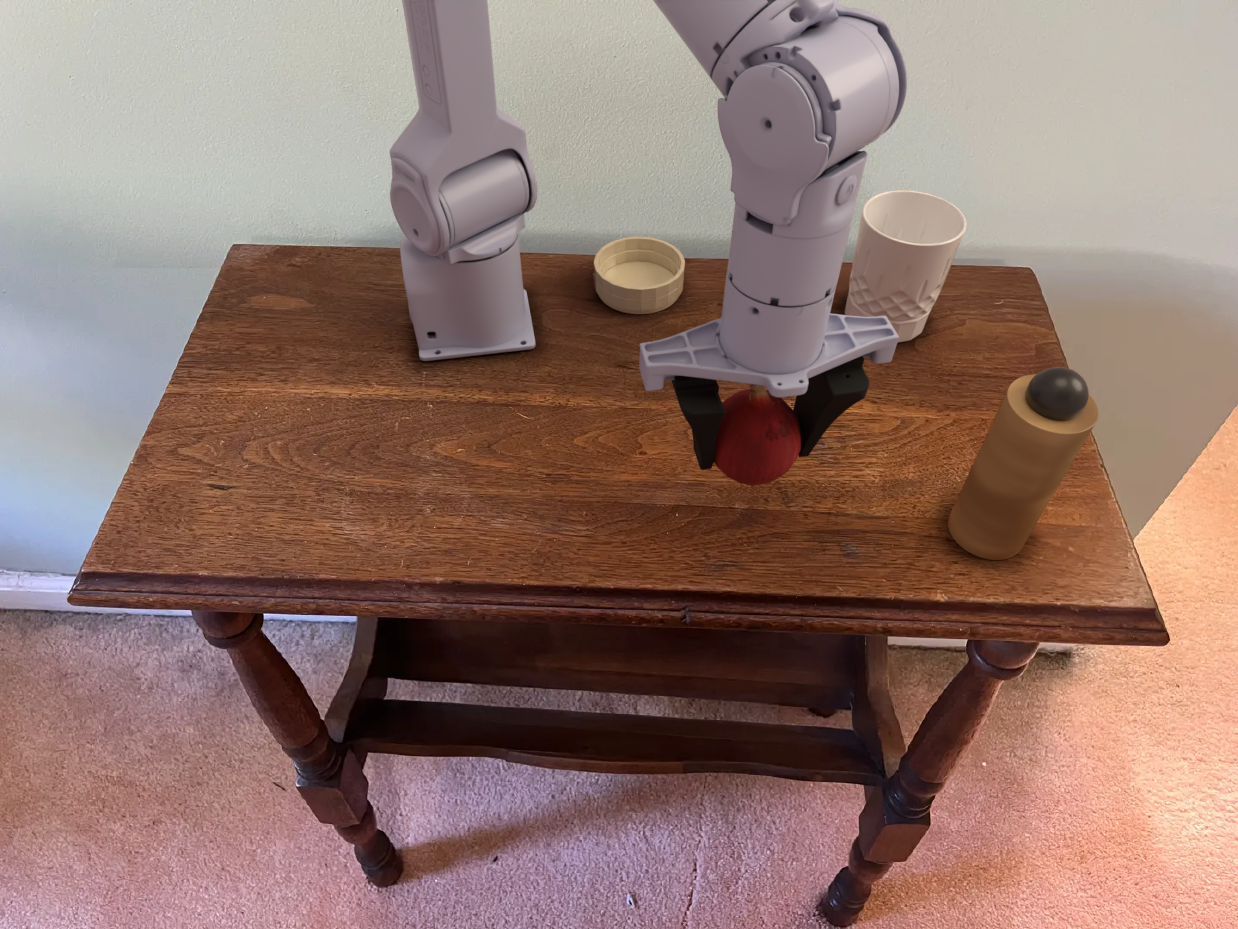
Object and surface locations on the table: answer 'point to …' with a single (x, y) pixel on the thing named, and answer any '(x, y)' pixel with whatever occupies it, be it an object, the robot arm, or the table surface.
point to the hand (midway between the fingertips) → (750, 451)
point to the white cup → (903, 258)
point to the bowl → (639, 274)
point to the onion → (757, 437)
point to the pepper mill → (1022, 462)
